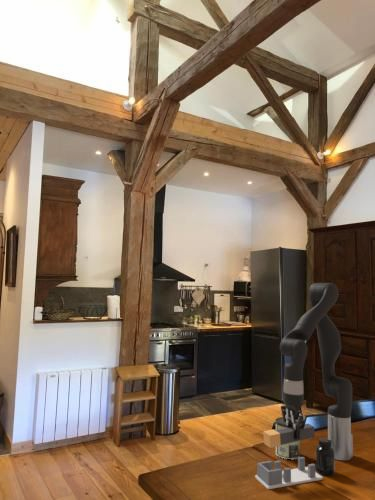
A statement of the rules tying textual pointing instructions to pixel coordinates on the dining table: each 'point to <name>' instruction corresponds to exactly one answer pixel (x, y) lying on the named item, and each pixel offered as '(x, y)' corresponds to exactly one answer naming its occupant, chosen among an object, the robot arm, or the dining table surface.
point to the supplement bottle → (325, 457)
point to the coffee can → (287, 449)
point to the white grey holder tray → (285, 474)
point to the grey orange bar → (286, 435)
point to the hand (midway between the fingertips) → (293, 437)
